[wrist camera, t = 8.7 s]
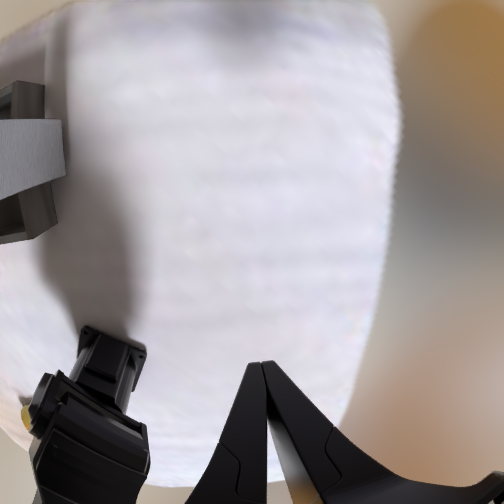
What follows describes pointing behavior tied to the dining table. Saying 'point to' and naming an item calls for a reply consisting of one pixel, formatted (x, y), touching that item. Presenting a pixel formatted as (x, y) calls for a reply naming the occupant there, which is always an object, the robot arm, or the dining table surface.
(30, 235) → the tunnel
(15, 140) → the slider
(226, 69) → the dining table surface
